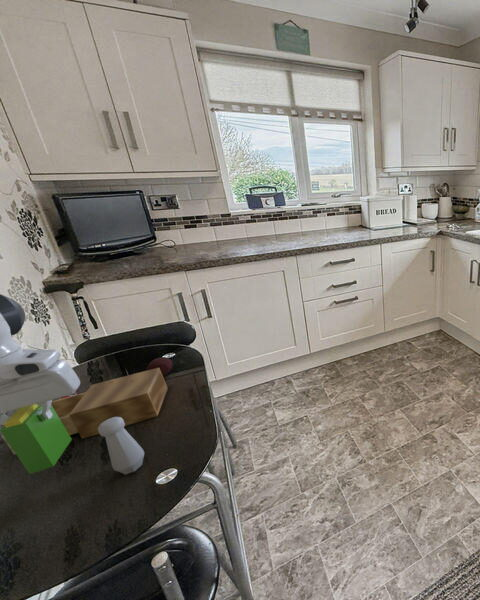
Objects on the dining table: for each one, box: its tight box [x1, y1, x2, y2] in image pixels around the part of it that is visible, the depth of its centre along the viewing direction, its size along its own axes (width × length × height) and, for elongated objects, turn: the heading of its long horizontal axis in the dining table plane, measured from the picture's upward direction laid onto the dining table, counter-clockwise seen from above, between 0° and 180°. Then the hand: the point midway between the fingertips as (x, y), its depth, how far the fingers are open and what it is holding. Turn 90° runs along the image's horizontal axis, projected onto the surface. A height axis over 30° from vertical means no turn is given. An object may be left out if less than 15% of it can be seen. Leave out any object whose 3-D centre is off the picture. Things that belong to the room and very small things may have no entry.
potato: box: [145, 356, 174, 378], centre depth 111 cm, size 8×9×6 cm
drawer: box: [0, 391, 87, 455], centre depth 87 cm, size 20×14×6 cm
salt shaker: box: [98, 417, 145, 475], centre depth 72 cm, size 6×6×13 cm
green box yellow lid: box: [0, 404, 72, 475], centre depth 72 cm, size 4×9×13 cm, turn 25°
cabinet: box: [69, 368, 168, 440], centre depth 93 cm, size 17×15×8 cm
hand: (31, 422), depth 71 cm, fingers closed on green box yellow lid, 4 cm apart
